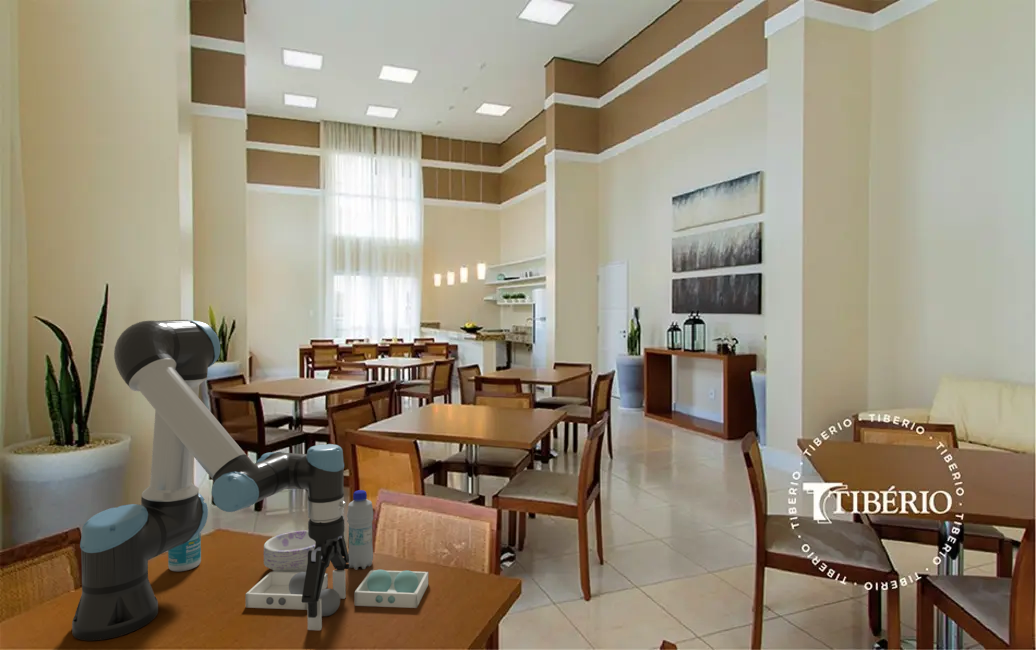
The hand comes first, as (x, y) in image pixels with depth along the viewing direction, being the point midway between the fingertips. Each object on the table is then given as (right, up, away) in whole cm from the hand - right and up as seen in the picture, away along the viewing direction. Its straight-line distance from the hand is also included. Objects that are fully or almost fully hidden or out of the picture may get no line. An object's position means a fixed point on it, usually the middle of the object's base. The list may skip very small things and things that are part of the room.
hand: (327, 613), depth 127 cm
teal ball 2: (+16, +1, +8) cm, 18 cm away
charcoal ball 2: (0, 0, 0) cm, 0 cm away
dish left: (-12, 0, +7) cm, 14 cm away
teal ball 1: (+9, +1, +8) cm, 13 cm away
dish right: (+13, 0, +8) cm, 15 cm away
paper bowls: (-15, 0, +22) cm, 27 cm away
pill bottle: (-45, 0, +25) cm, 52 cm away
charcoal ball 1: (-8, +1, +7) cm, 11 cm away
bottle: (+1, 0, +24) cm, 24 cm away
